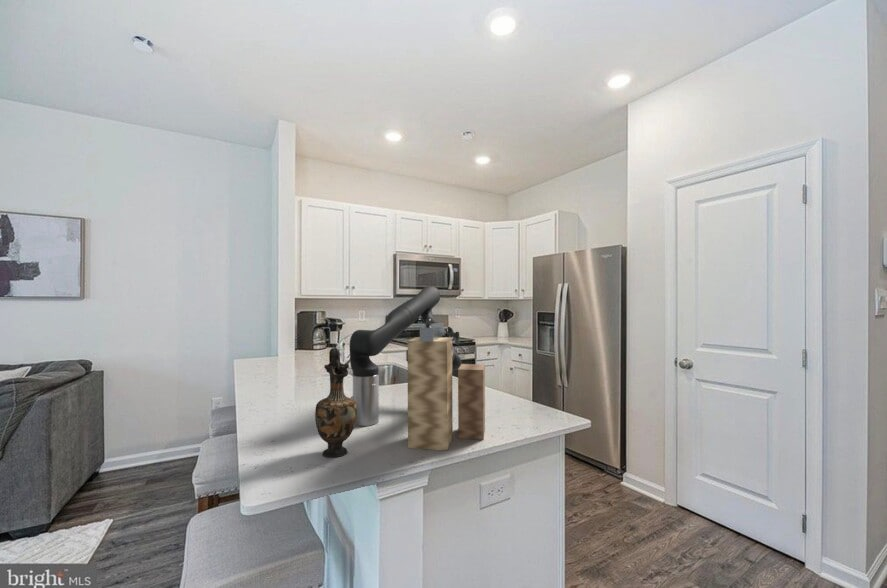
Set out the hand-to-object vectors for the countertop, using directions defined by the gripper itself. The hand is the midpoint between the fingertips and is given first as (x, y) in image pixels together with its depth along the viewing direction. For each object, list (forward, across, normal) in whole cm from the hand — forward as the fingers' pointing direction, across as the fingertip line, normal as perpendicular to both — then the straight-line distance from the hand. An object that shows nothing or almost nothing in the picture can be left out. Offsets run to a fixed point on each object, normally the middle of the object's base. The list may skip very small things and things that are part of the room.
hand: (436, 329), depth 130 cm
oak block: (-8, 0, +35) cm, 36 cm away
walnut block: (-16, +12, +30) cm, 36 cm away
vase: (+2, -26, +41) cm, 48 cm away
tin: (+5, 0, +5) cm, 7 cm away
